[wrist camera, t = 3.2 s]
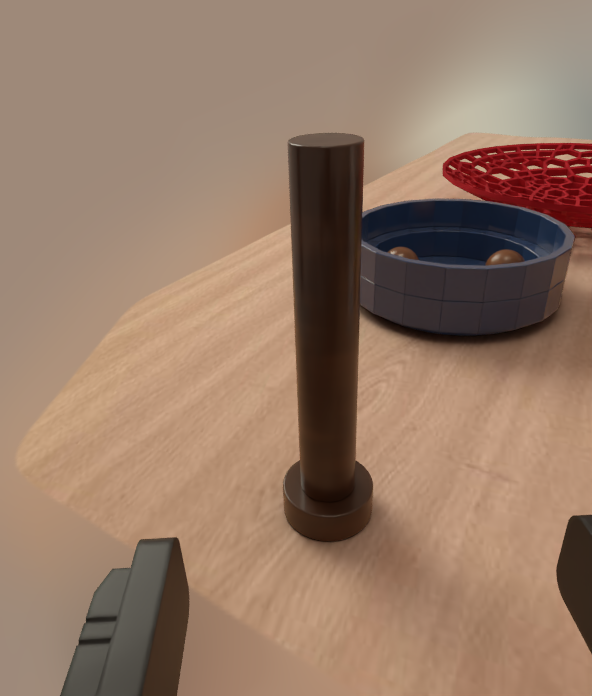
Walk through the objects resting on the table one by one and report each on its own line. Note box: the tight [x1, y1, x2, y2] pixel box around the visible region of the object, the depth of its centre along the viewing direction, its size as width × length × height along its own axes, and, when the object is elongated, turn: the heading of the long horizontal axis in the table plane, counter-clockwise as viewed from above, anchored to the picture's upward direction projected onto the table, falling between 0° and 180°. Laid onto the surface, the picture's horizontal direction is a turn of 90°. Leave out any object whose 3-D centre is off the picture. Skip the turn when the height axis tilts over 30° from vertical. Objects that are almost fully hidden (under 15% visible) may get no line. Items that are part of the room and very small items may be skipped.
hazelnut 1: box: [387, 247, 419, 260], centre depth 44 cm, size 3×3×3 cm
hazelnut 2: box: [485, 249, 525, 266], centre depth 43 cm, size 3×3×3 cm
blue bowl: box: [360, 199, 575, 336], centre depth 43 cm, size 16×16×6 cm
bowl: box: [443, 143, 592, 228], centre depth 60 cm, size 29×29×5 cm
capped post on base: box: [283, 133, 373, 541], centre depth 21 cm, size 4×4×16 cm
